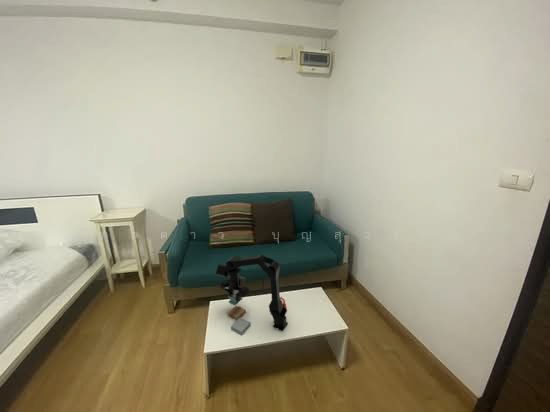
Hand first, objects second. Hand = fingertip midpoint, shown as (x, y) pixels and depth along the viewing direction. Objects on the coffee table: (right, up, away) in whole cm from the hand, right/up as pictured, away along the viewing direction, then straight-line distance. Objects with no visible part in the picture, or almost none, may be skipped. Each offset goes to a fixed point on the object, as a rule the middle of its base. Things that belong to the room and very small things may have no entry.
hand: (235, 299), depth 140 cm
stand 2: (+4, -13, -7) cm, 16 cm away
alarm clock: (+26, -9, +7) cm, 29 cm away
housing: (0, -1, 0) cm, 1 cm away
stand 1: (0, -10, +3) cm, 11 cm away
